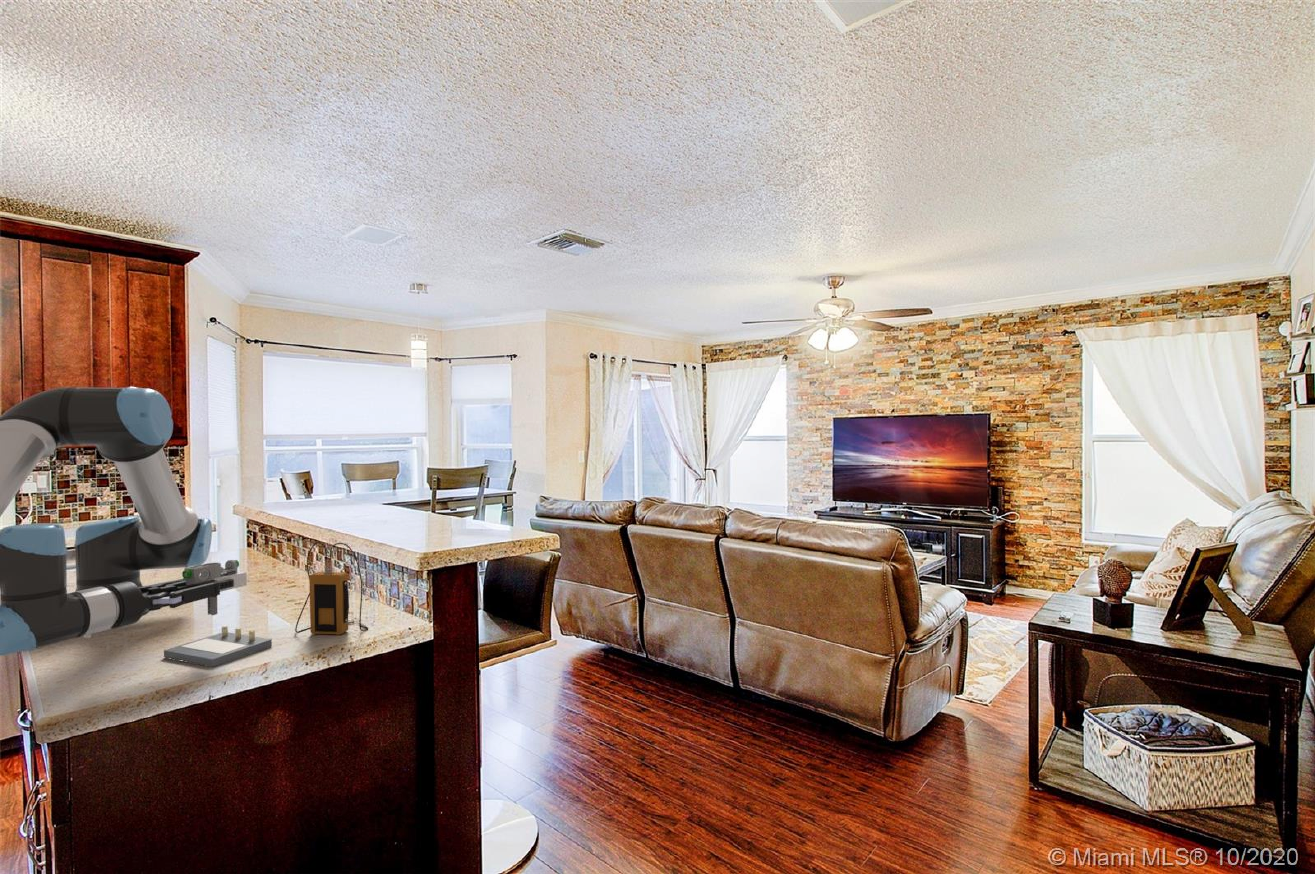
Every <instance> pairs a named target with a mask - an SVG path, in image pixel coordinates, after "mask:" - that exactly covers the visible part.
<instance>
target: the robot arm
mask: <svg viewBox="0 0 1315 874" xmlns="http://www.w3.org/2000/svg"><path fill="white" fill-rule="evenodd" d="M172 414H173V412H172V409H171V406H170V405H169V403H168V401H167V399H166V398H165V397H164V396H163V394H161V393H160V392H159V391H157V390H156V389H151V388H142V387H135V386H127V387H86V386H85V387H83V386H82V387H75V386H62V387H57V388H50V389H48V390H44V391H41V392H39V393H36V394H33V395H32V396H30V397H28V398H25V399H23V400H21V401H20V402H18V403H16V404H14V405H13V406H12V407H10V408H9V409H7V410H6V411H4V412H3V413H2V414H1V415H0V518H1V516H2V515H3V514H4V512H5V511H6V510H7V508H8V507H9V505H10V504H11V503H12V500H13V499H14V498H15V497H16V495H17V494H18V492H19V490H20V489H21V488H22V487H23V485H24V483H25V482H26V481H27V479H28V478H29V476H30V475H31V473H32V472H33V470H34V469H35V467H36V466H37V465H38V463H39V462H40V461H41V460H44V459H47V458H49V457H50V456H51V455H52V454H54V452H55V450H56V449H59V448H61V447H66V446H74V447H75V446H95V447H96V448H97V449H96V450H98V452H99V455H101V457H102V458H104V459H105V460H107V461H109V462H113V463H114V465H115V466H116V469H117V471H118V473H119V475H120V477H121V479H122V481H123V484H124V485H125V488H126V490H127V492H128V495H129V497H130V499H131V501H132V503H133V505H134V507H135V509H136V511H137V514H138V515H139V516H138V515H129V516H122V517H121V516H120V517H116V518H114V517H113V518H109V519H104V520H98V521H93V522H90V523H89V522H88V523H85V524H81V526H78V528H77V529H76V530H75V540H74V541H75V543H74V545H73V547H74V549H75V551H74V552H75V553H74V554H75V555H74V556H75V557H74V558H75V578H76V579H75V580H76V582H75V583H76V588H75V590H74V591H73V592H69V593H68V591H67V582H68V581H67V580H68V579H67V576H68V575H67V572H68V571H67V569H68V568H67V567H68V565H67V561H68V560H67V553H68V548H67V544H66V543H67V542H66V536H65V535H66V534H65V529H64V527H63V526H62V525H61V524H59V523H57V522H56V523H55V522H36V523H29V524H28V523H26V524H25V523H24V524H16V525H14V524H13V525H8V526H6V527H3V528H1V529H0V657H2V656H7V655H13V654H16V653H21V652H28V651H29V652H30V651H34V650H35V649H40V648H42V647H48V646H51V645H54V644H58V643H61V642H62V643H63V642H66V641H69V640H72V639H76V638H82V637H83V638H84V639H89V638H92V634H96V633H100V632H101V633H102V632H104V631H108V630H110V629H112V630H113V629H118V628H122V627H125V626H130V625H133V624H136V623H137V622H138V621H140V620H141V618H142V616H143V615H145V614H146V613H148V612H151V611H158V610H160V609H163V608H166V607H169V609H176V608H178V607H181V606H183V605H186V604H190V603H194V602H197V601H198V602H199V601H202V600H205V599H206V600H207V599H208V598H209V597H217V598H218V596H220V595H221V592H225V591H229V590H233V589H238V588H243V587H246V586H248V584H247V583H248V581H247V578H248V577H247V576H248V575H247V571H242V572H237V574H232V575H228V576H225V575H226V572H225V573H221V577H219V578H214V579H212V581H207V582H202V583H196V584H191V585H187V584H186V581H185V579H184V578H183V577H182V578H180V579H179V578H178V579H174V580H168V581H163V582H158V583H154V584H148V585H144V586H143V583H142V580H141V571H145V570H147V571H148V570H161V569H180V568H181V569H182V568H188V567H193V566H198V565H203V564H205V563H206V562H207V559H208V557H209V554H210V551H211V545H212V538H213V535H212V534H213V526H212V525H213V524H212V521H211V520H210V519H209V518H204V517H201V518H199V516H198V515H197V513H196V511H195V510H193V509H192V508H190V507H188V506H186V505H185V502H184V499H183V497H182V495H181V492H180V489H179V487H178V484H177V482H176V480H175V476H174V475H173V472H172V469H171V466H170V464H169V462H168V459H167V457H166V454H165V451H164V447H165V446H166V445H167V443H168V442H169V440H170V439H171V437H172V435H173V431H174V421H173V418H172Z"/></svg>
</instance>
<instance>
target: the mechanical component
mask: <svg viewBox="0 0 1315 874" xmlns="http://www.w3.org/2000/svg"><path fill="white" fill-rule="evenodd" d="M239 566H240V561H239V560H238V559H235V560H234V559H230V560H227V561H226V562H225V564H224V567H223V566H222V563H221V562H209V563H203V564H201V565H198V566H190V567H187V568H185V567H183V568H184V570H183V571H182V573H181V575H182V579H183V578H184V579H185V581H186V584H187V585H191V584H196V583H202V582H207V581H212V579H214V578H219V577H221V573H225V572H226V575H225V576H228V575H232V574H237V573H238V568H239ZM207 615H211V616H215V615H218V596H217V597H209V598H207Z"/></svg>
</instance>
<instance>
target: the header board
mask: <svg viewBox="0 0 1315 874" xmlns="http://www.w3.org/2000/svg"><path fill="white" fill-rule="evenodd" d="M255 634H256V631H255V629H252V630H249V631H248V634H242V628H241V627H237V628H235V629H234V632H229V625H224V626H223V625H222V627H221V632H219V633H217V634H214V635H210V636H206V637H203V638H201V639H196V640H193V641H190V642H187V643H183V644H180V645H177V646H174V647H170V648H167V649H164V650H163V658H164V657H165V658H164V659H167V658H171V659H170V660H172V659H175V660H174V661H177V660H183V661H187V662H186V663H188V662H191V663H190V664H193V663H195V664H194V665H198V664H200V666H203V665H207V666H206V667H209V666H210V668H214V667H218V666H220V665H223V664H226V663H229V662H231V661H234V660H237V659H241V658H243V657H247V656H249V655H251V654H252V655H253V654H255V653H257V651H258V652H260V651H264V650H266V649H270V648H271V647H272V643H273V642H272V638H266V637H260V636H259V637H258V636H256V635H255ZM254 652H255V653H254ZM242 656H243V657H242ZM240 657H241V658H240Z"/></svg>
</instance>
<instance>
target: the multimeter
mask: <svg viewBox="0 0 1315 874" xmlns="http://www.w3.org/2000/svg"><path fill="white" fill-rule="evenodd" d="M317 544H319V545H321V546H322V547H323V548H324V552H325V557H324V558H325V560H324V562H325V563H324V564H325V566H324V571H317V572H315V573H314V572H313V573H312V574H310V571H309V570H310V569H309V556H310V553H311V551H312V550H313V548H314V547H315V545H317ZM337 545H344V546H346V547H347V548H348V549H349V550H350V552H351V553H352V555H353V557H354V560H355V561H356V562H355V563H356V566H357V569H358V573H359V578H360V604H359V620H352V621H349V611H350V599H349V598H350V595H349V593H350V592H349V577H348V576H349V575H348V572H345V571H342V572H340V571H338V572H337V571H334V572H333V566H332V565H333V562H332V549H333V548H334V547H335V546H337ZM327 552H328V551H327V548H326V546H325V545H324V544H323V543H322V542H320V541H316V542H314V543H313V545H312V546H311V547H310V549H309V551H308V554H307V556H306V571H307V572H306V573H307V576H308V580H309V593H308V596H307V597H306V599H305V602H304V604H303V607H302V609H301V610H300V614H299V616H298V619H297V621H296V625H295V629H294V631H295V633H301V632H303V631H306V630H307V631H308V630H310V633H311V634H312V635H318V634H319V635H321V634H322V635H336V636H341V635H342V634H344V633H346V632H348V631H349V625H350V624H355V623H357V624H358V625H359V629H360V631H361V632H365V631H368V630H369V627H368V626H367V625H365V624H364V623H362V622H361V621H363V619H361V618H362V605H363V604H362V603H363V579H362V574H361V573H362V572H361V569H360V565H359V563H358V559H357V557H356V555H355V552H354V551H353V549H352V548H351V546H349V545H348V544H346V543H344V542H343V543H342V542H337V543H334V544H333V545H331V547H330V550H329V566H328V560H327V559H328V558H327V557H328V555H327V554H328V553H327ZM308 600H309V617H310V621H309V622H310V626H309V627H307V628H304V629H301V630H299V631H297V628H298V624H299V621H300V620H301V616H302V614H303V612H304V610H305V607H306V604H307V603H308ZM362 628H365V629H362Z"/></svg>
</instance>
